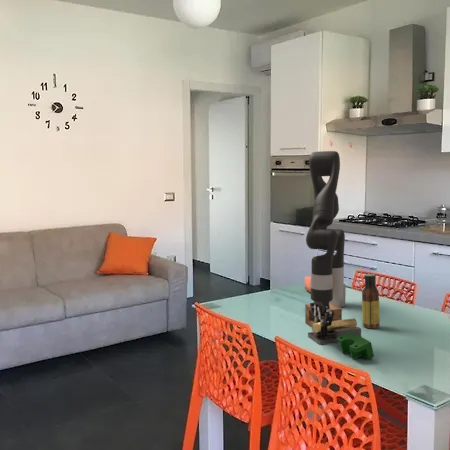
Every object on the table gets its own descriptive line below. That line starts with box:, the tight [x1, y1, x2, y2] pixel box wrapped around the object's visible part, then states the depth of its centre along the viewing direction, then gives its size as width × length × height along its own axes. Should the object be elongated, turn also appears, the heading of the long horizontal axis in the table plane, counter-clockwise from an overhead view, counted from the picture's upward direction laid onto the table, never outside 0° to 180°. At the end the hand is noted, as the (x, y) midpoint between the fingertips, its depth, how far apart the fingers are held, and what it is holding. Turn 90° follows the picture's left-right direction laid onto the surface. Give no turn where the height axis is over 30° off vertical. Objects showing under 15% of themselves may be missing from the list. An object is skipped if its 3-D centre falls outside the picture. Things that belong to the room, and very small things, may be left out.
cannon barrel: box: [311, 317, 358, 333], centre depth 182 cm, size 16×3×3 cm, turn 107°
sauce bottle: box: [361, 273, 381, 330], centre depth 194 cm, size 7×6×20 cm
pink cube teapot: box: [304, 275, 311, 293], centre depth 249 cm, size 8×12×8 cm, turn 13°
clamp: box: [337, 332, 375, 360], centre depth 166 cm, size 12×6×9 cm, turn 14°
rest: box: [307, 326, 362, 346], centre depth 183 cm, size 16×9×4 cm, turn 107°
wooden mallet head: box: [304, 302, 343, 328], centre depth 196 cm, size 10×10×8 cm
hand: (321, 334), depth 181 cm, fingers closed on cannon barrel, 3 cm apart
